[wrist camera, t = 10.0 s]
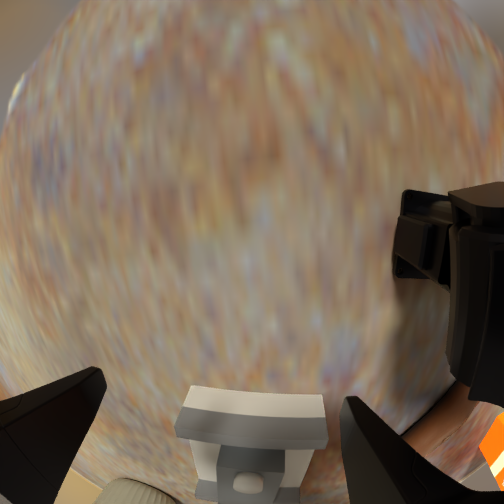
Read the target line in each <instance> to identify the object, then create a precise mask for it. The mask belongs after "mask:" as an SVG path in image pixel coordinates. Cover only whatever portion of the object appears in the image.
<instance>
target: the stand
mask: <svg viewBox="0 0 504 504" xmlns="http://www.w3.org/2000/svg"><path fill="white" fill-rule="evenodd" d="M174 428H175V432H176V435H177V437H180V438H185V439H189V440H190V445H191V449H192V454H193V458H194V462H195V466H196V470H197V474H198V477H199V480H198V484H197V488H196V491H195V497H196V499H202V500H207V501H213V502H218V493H217V476H216V464H217V460H218V455H219V451H220V447H221V445H228V446H237V447H247V448H260V449H281V450H285V474H284V476H283V479H282V482H281V484H280V487H279V489H278V492H277V494H276V497H275V499H274V501H273V504H300V485H301V483H302V481H303V478H304V476H305V473H306V471H307V468H308V466H309V463H310V461H311V458H312V455H313V453H314V450H315V449H325V448H326V445H327V443H328V440H329V437H328V430H327V423H326V417H325V410H324V404H323V398H322V394H275V393H258V392H246V391H235V390H226V389H217V388H210V387H203V386H196V385H191V387H190V390H189V392H188V394H187V397H186V399H185V402H184V404H183V406H182V409H181V411H180V414H179V416H178V418H177V421H176V423H175V426H174Z"/></svg>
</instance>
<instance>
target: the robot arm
mask: <svg viewBox="0 0 504 504" xmlns="http://www.w3.org/2000/svg"><path fill="white" fill-rule="evenodd" d="M409 193H410V195H411V198H410V199H409V200H408V198H407V195H408V194H409ZM394 252H395V253H396V255H395V261H394V267H393V273H394V275H395V276H396V277H398V278H417V279H431V280H433V281H434V282H436V283H437V284H438V285H440V286H441V287H442V288H444V289H445V290H446V291H448V292H449V293H450V312H449V326H448V336H447V345H446V356H447V359H448V362H449V365H450V372H451V374H452V375H453V376H454V377H455V378H456V379H457V380H458V381H460V382H461V383H463V384H464V385H466V386H467V387H470V390H469V394H468V400H470V401H482V402H488V403H492V404H495V405H498V406H500V407H502V408H504V182H493V183H488V184H483V185H479V186H474V187H469V188H464V189H459V190H454V191H449V192H448V196H445V195H439V194H434V193H428V192H422V191H416V190H409V189H407V190H405V191H404V192H403V193H402V202H401V214H400V216H399V217H398V222H397V231H396V239H395V247H394ZM400 268H402V270H401V272H400V273H398V270H399V269H400ZM106 389H107V384H106V381H105V378H104V375H103V372H102V370H101V369H100V368H97V367H94V366H91V367H89V368H86V369H84V370H81V371H79V372H77V373H74V374H72V375H69V376H67V377H64V378H62V379H59V380H57V381H54V382H52V383H49V384H47V385H44V386H41V387H39V388H36V389H34V390H31V391H28V392H26V393H24V394H20V395H18V396H15V397H12V398H9V399H6V400H2V401H0V504H54V501H55V499H56V497H57V494H58V491H59V490H60V487H61V485H62V483H63V481H64V479H65V477H66V474H67V472H68V470H69V468H70V466H71V464H72V462H73V460H74V458H75V456H76V454H77V452H78V450H79V448H80V446H81V444H82V442H83V440H84V438H85V436H86V434H87V432H88V430H89V428H90V426H91V424H92V423H93V421H94V419H95V416H96V414H97V411H98V409H99V406H100V404H101V401H102V399H103V396H104V394H105V392H106ZM340 431H341V449H342V458H343V464H344V469H345V475H346V481H347V487H348V493H349V499H350V504H504V491H475V490H471V489H469V488H467V487H465V486H463V485H462V484H460V483H459V482H457V481H455V480H454V479H452V478H451V477H449V476H448V475H446V474H445V473H443V472H442V471H440V470H439V469H438V468H436V467H435V466H433V465H432V464H431V463H430V462H428V461H427V460H426V459H425V458H424V457H423V456H421V455H420V454H419V453H418V452H416V450H415V449H414V448H412V447H411V446H410V445H409V444H408V443H407V442H406V441H405V440H404V439H403V438H401V437H400V436H399V435H398V434H397V433H396V432H395V431H394V430H393V429H392V428H391V427H390V426H388V425H387V424H386V423H385V422H384V421H383V420H382V419H381V418H380V417H379V416H378V415H377V414H376V413H375V412H373V411H372V410H371V409H370V408H369V407H368V406H367V405H366V404H365V403H364V402H363V401H362V400H361V399H360V398H359V397H357V396H347V397H345V399H344V402H343V405H342V408H341V411H340Z"/></svg>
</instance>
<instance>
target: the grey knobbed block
mask: <svg viewBox="0 0 504 504" xmlns="http://www.w3.org/2000/svg"><path fill="white" fill-rule="evenodd" d="M284 474H285V450H281V449H260V448H247V447H237V446H228V445H221V447H220V451H219V455H218V460H217V464H216V476H217V493H218V504H273V501H274V499H275V497H276V494H277V492H278V489H279V487H280V484H281V482H282V479H283V476H284Z"/></svg>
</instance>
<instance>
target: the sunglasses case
mask: <svg viewBox="0 0 504 504" xmlns="http://www.w3.org/2000/svg"><path fill="white" fill-rule="evenodd" d="M469 390H470V387H467V386H466V385H464V384H463V383H461V382H460V381H458V380H457V381H456V382H455V384H454V385H453V386H452V387H451V388H450V389H449V391H448V392H447V394H446V395H445V396H444V397H443V398H442V399H441V400H440V401H439V402H438V404H437V405H436V406H435V407H434V408H433V410H431V411H430V412H429V413H428V414H427V415H425V416H424V417H423V418H422V419H421V420H420V421H419V422H417V423H416V424H415V425H414V426H413V427H412V428H411V429H410V430H409V431H408V432H407V433H405V434H404V435H403V436H401V438H403V439H404V440H405V441H406V442H407V443H408V444H409V445H410V446H411V447H412V448H414V449H415V450H416V452H418V453H419V454H420V455H421V456H423V457H425V456H427V455H428V454H429V453H431V452H432V451H433V450H434V449H435V448H437V447H438V446H439V445H441V444H442V443H443V442H444V441H446V440H447V439H449V438H450V436H451V435H452V434H453V433H454V432H455V431H456V430H458V429H459V428H460V427H461V425H462V424H463V423H464V422H465V421H466V420H467V418H468V417H469V415H470V414H471V412H472V411H473V409H474V408H475V407H476V406H477V404H478V403H479V402H480V401H470V400H468V394H469Z"/></svg>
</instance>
